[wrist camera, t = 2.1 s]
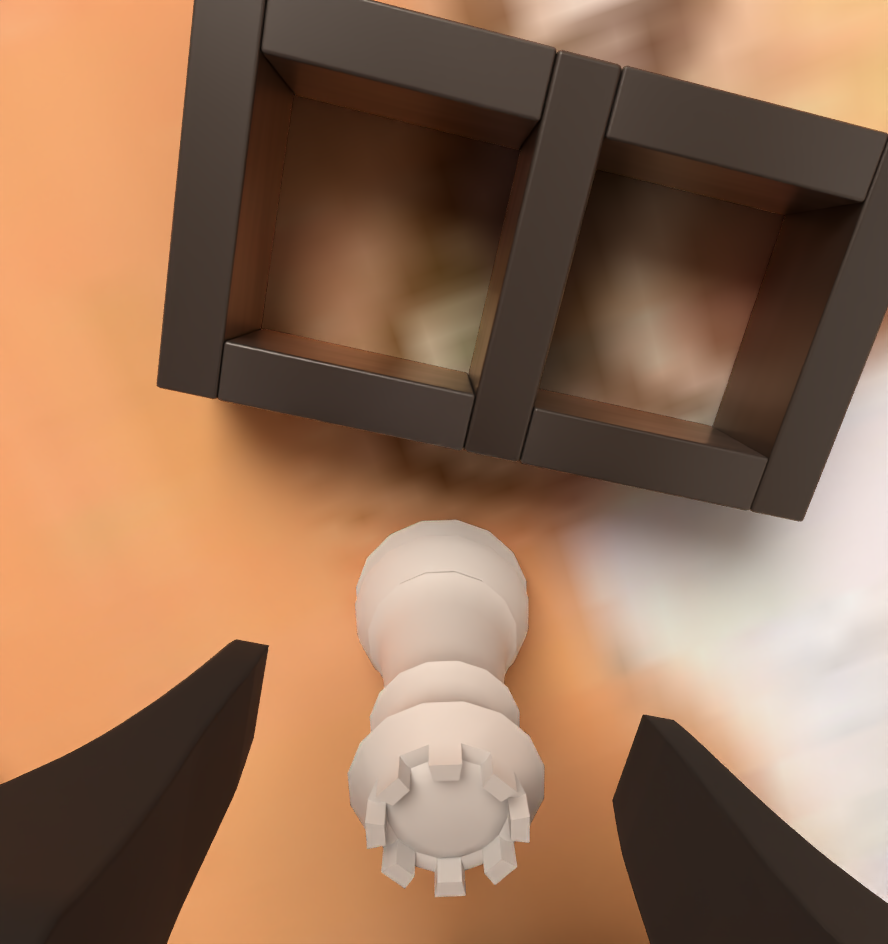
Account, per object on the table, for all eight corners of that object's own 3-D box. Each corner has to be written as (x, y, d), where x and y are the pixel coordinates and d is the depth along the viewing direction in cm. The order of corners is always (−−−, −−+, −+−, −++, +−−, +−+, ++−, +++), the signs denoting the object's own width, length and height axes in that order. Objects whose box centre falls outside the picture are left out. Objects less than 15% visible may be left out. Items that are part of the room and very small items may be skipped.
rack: (852, 172, 15) (952, 148, 12) (741, 480, 17) (803, 523, 14) (245, 18, 14) (197, -47, 11) (205, 367, 16) (154, 387, 13)
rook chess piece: (557, 607, 18) (649, 857, 10) (423, 692, 19) (416, 985, 11) (462, 478, 17) (486, 651, 9) (323, 573, 18) (237, 807, 10)
